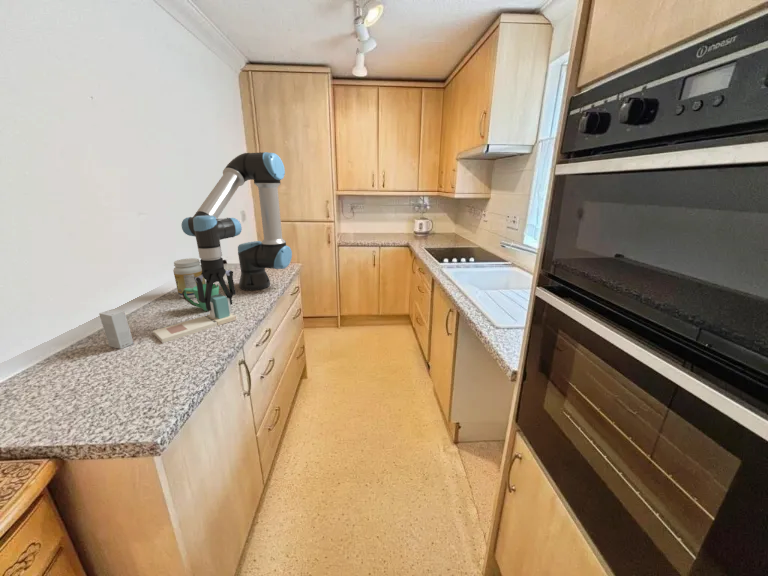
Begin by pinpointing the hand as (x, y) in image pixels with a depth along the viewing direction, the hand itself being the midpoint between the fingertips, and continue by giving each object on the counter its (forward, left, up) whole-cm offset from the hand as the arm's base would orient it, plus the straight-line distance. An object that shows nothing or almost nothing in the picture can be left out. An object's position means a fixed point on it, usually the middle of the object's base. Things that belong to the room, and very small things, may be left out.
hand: (221, 314), depth 125 cm
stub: (0, 0, -2) cm, 2 cm away
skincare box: (+31, -4, -2) cm, 32 cm away
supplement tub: (-4, -40, -2) cm, 40 cm away
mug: (0, -17, -2) cm, 17 cm away
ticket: (+13, 0, -2) cm, 13 cm away
